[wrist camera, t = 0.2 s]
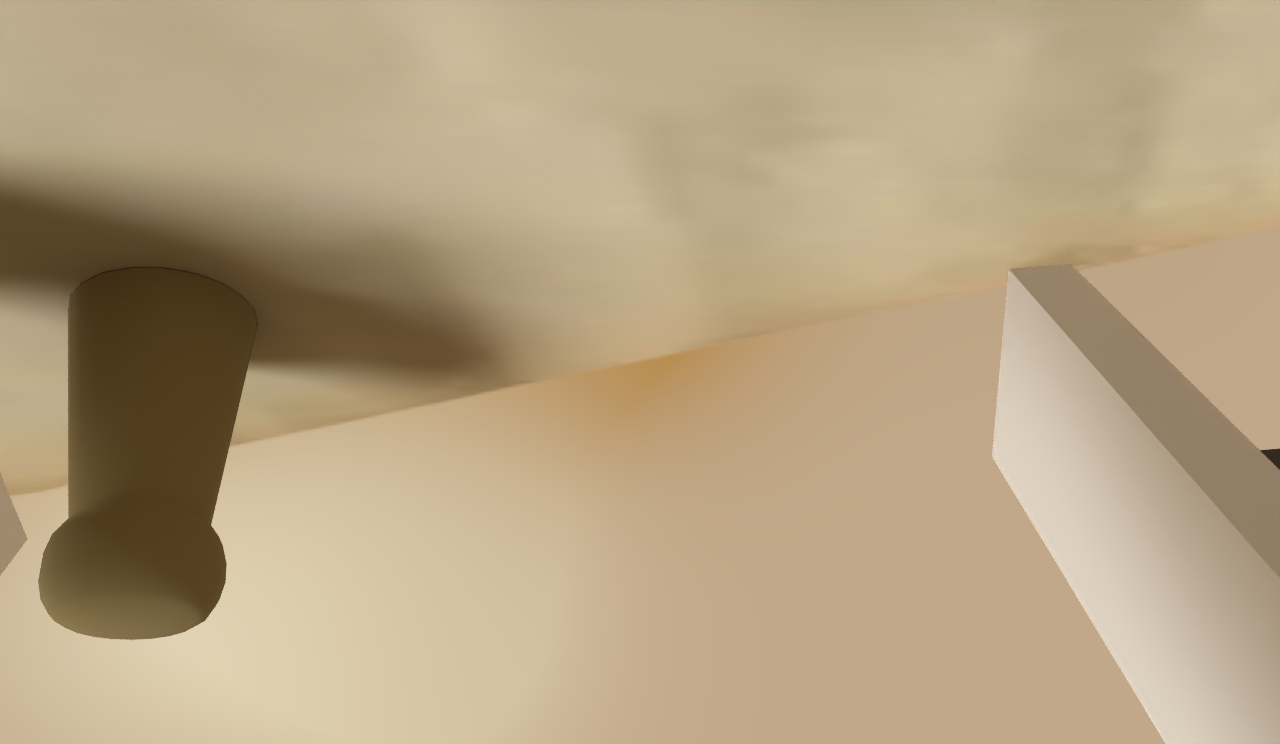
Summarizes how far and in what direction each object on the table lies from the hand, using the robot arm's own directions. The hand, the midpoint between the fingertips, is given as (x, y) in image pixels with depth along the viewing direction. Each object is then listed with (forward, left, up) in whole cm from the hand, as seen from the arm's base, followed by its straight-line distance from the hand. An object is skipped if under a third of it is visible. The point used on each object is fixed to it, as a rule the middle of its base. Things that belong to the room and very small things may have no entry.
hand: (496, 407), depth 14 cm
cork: (+19, -14, -15) cm, 28 cm away
